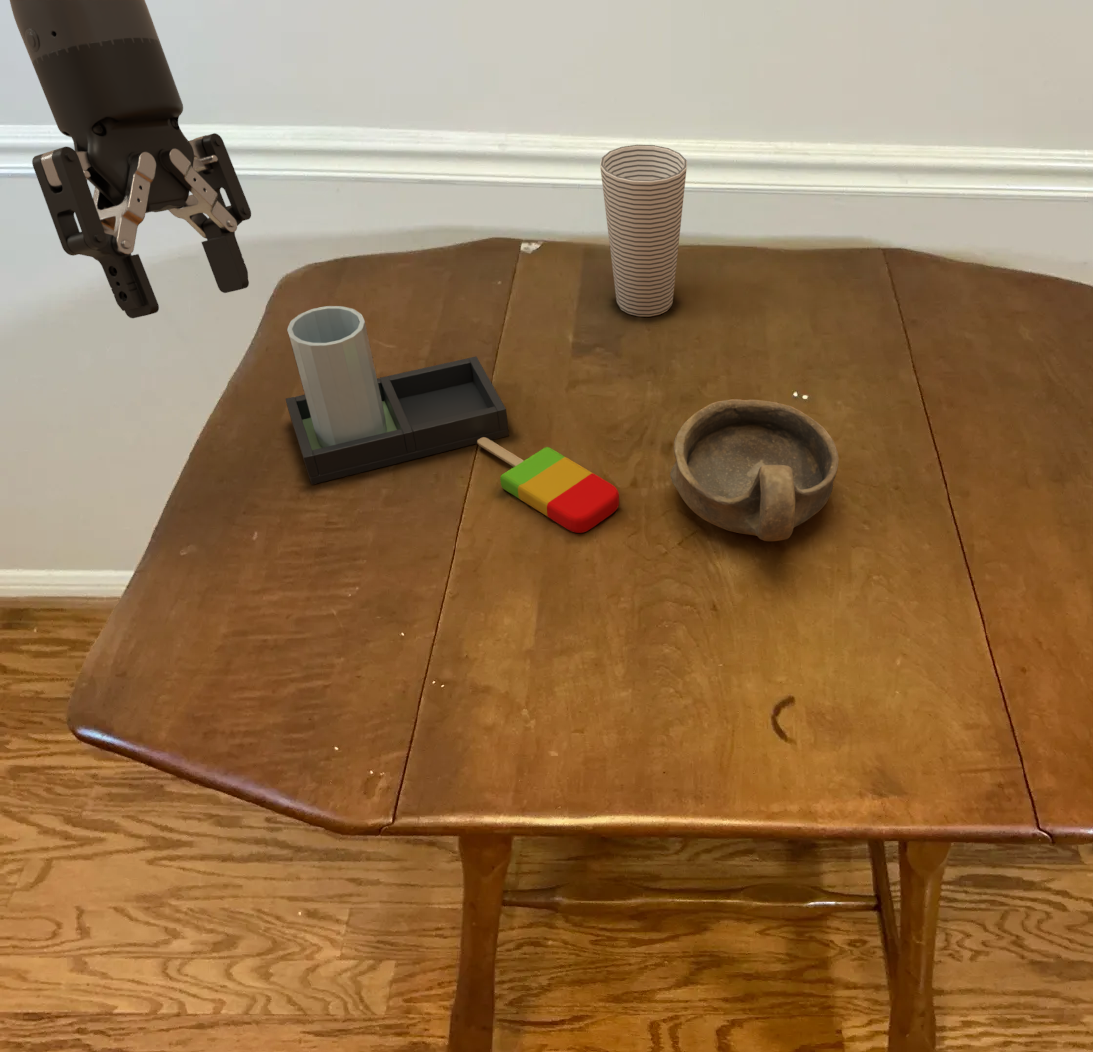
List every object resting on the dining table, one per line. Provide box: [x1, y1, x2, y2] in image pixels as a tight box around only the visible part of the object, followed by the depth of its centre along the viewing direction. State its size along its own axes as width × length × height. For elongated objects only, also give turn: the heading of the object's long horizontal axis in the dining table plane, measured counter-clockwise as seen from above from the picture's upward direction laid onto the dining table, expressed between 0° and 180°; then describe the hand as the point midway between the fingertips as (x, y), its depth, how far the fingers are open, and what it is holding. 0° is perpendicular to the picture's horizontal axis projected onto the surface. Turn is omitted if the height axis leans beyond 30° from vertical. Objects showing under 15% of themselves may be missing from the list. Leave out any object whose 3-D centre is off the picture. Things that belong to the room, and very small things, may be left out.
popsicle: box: [477, 437, 620, 534], centre depth 91 cm, size 6×15×2 cm, turn 50°
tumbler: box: [286, 305, 387, 447], centre depth 91 cm, size 6×6×11 cm
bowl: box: [669, 398, 840, 542], centre depth 86 cm, size 14×18×10 cm
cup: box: [599, 144, 688, 317], centre depth 109 cm, size 8×8×16 cm
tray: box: [285, 355, 510, 485], centre depth 96 cm, size 17×9×3 cm, turn 115°
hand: (192, 302), depth 73 cm, fingers open, 8 cm apart
